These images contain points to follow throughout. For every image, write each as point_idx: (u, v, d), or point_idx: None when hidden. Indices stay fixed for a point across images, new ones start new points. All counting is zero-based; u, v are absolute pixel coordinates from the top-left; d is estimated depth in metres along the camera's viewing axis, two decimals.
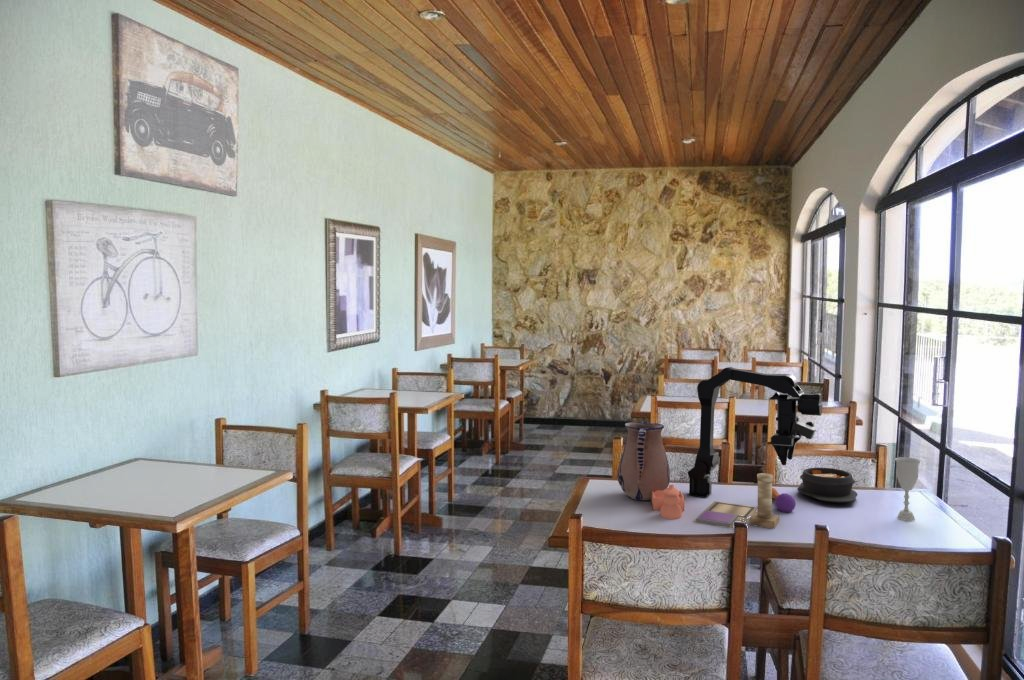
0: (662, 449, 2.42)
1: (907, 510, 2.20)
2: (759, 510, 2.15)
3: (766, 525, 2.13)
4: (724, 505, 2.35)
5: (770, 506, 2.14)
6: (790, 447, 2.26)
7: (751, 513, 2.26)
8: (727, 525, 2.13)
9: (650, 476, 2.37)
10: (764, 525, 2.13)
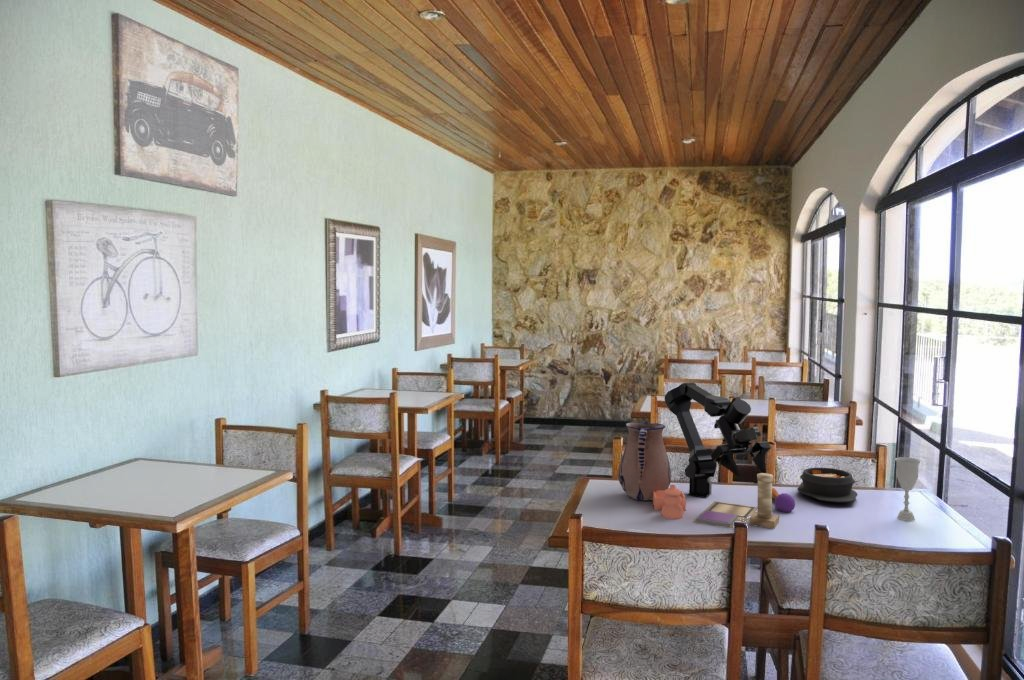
0: (663, 449, 2.42)
1: (907, 510, 2.20)
2: (759, 510, 2.15)
3: (766, 525, 2.13)
4: (724, 505, 2.35)
5: (770, 506, 2.14)
6: (728, 455, 2.22)
7: (751, 513, 2.26)
8: (727, 525, 2.13)
9: (651, 476, 2.37)
10: (764, 525, 2.13)
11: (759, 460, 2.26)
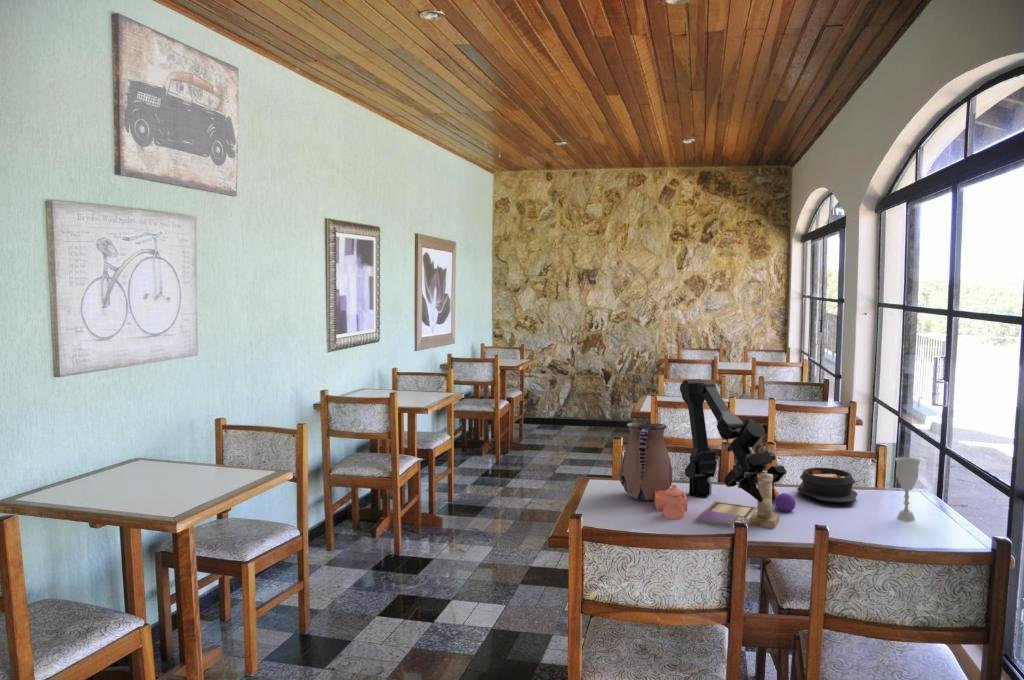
0: (664, 449, 2.41)
1: (907, 510, 2.20)
2: (759, 510, 2.15)
3: (766, 525, 2.13)
4: (724, 505, 2.35)
5: (770, 506, 2.14)
6: (748, 479, 2.15)
7: (751, 513, 2.26)
8: (727, 525, 2.13)
9: (652, 476, 2.37)
10: (764, 525, 2.13)
11: None
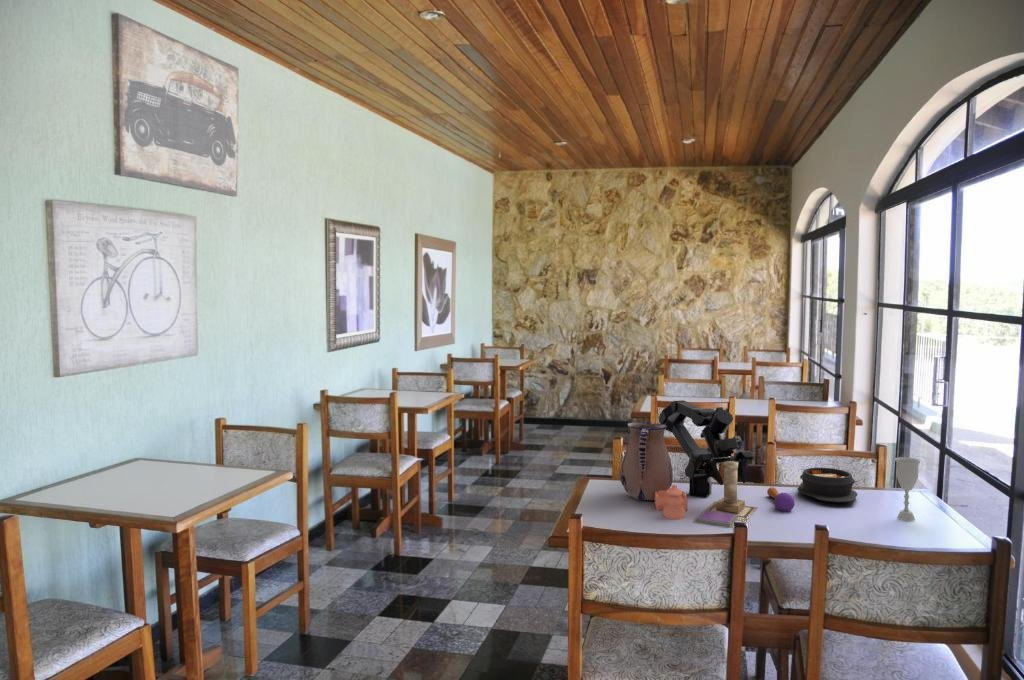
0: (665, 449, 2.41)
1: (907, 510, 2.20)
2: (725, 495, 2.29)
3: (731, 509, 2.27)
4: None
5: (735, 492, 2.28)
6: (710, 463, 2.29)
7: (751, 513, 2.26)
8: (727, 525, 2.13)
9: (652, 476, 2.37)
10: (729, 509, 2.27)
11: (740, 469, 2.32)
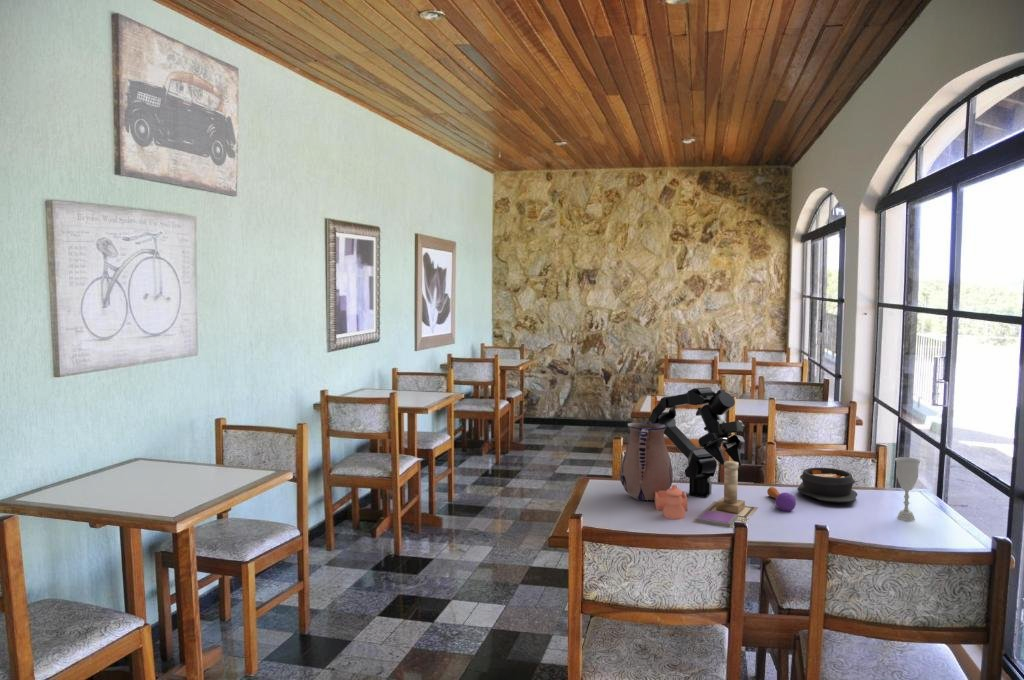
0: (664, 449, 2.41)
1: (907, 510, 2.20)
2: (725, 495, 2.29)
3: (731, 509, 2.27)
4: None
5: (735, 492, 2.28)
6: (718, 442, 2.31)
7: (751, 513, 2.26)
8: (727, 525, 2.13)
9: (652, 476, 2.37)
10: (729, 509, 2.27)
11: (734, 452, 2.40)
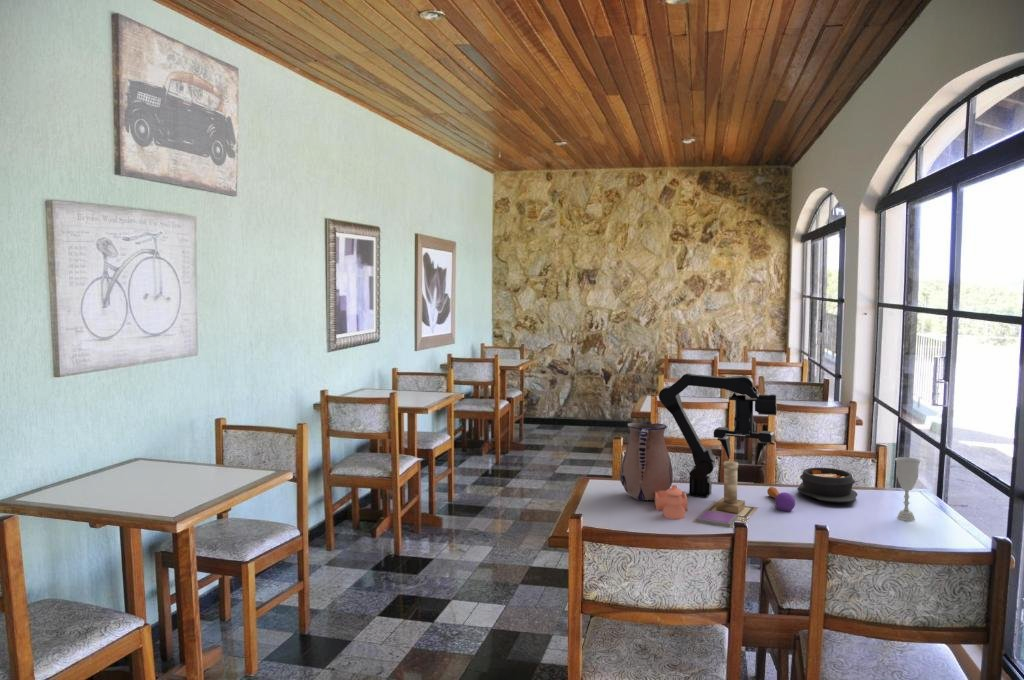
0: (664, 449, 2.41)
1: (907, 510, 2.20)
2: (725, 495, 2.29)
3: (731, 509, 2.27)
4: None
5: (735, 492, 2.28)
6: None
7: (751, 513, 2.26)
8: (727, 525, 2.13)
9: (652, 476, 2.37)
10: (729, 509, 2.27)
11: (728, 444, 2.45)
